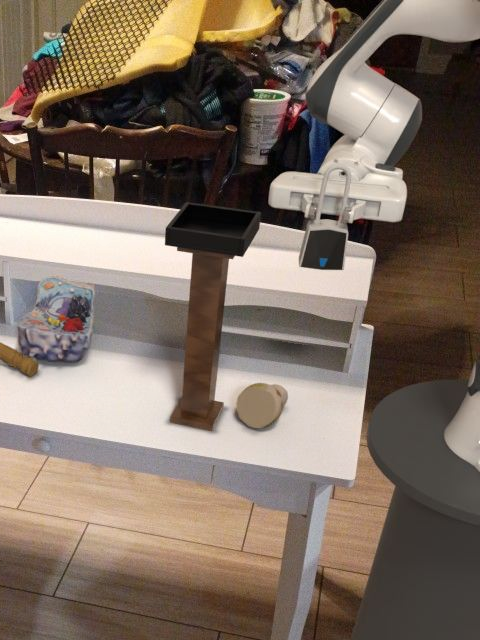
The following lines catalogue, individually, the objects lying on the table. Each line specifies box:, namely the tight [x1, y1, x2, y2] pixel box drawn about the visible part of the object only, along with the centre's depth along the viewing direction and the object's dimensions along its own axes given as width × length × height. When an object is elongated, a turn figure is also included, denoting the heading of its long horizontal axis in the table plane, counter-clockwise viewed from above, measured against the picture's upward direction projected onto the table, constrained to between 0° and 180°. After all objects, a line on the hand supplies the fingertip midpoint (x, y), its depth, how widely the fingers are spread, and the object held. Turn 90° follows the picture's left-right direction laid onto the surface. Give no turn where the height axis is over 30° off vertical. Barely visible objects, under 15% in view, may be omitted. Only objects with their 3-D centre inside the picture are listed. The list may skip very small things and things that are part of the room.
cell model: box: [16, 275, 96, 363], centre depth 152 cm, size 13×11×20 cm
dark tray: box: [164, 201, 262, 258], centre depth 118 cm, size 11×10×2 cm
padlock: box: [298, 164, 351, 271], centre depth 126 cm, size 7×4×15 cm, turn 81°
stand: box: [169, 247, 236, 432], centre depth 129 cm, size 8×8×30 cm
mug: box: [236, 382, 289, 429], centre depth 136 cm, size 8×10×10 cm
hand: (329, 215), depth 125 cm, fingers closed on padlock, 4 cm apart
